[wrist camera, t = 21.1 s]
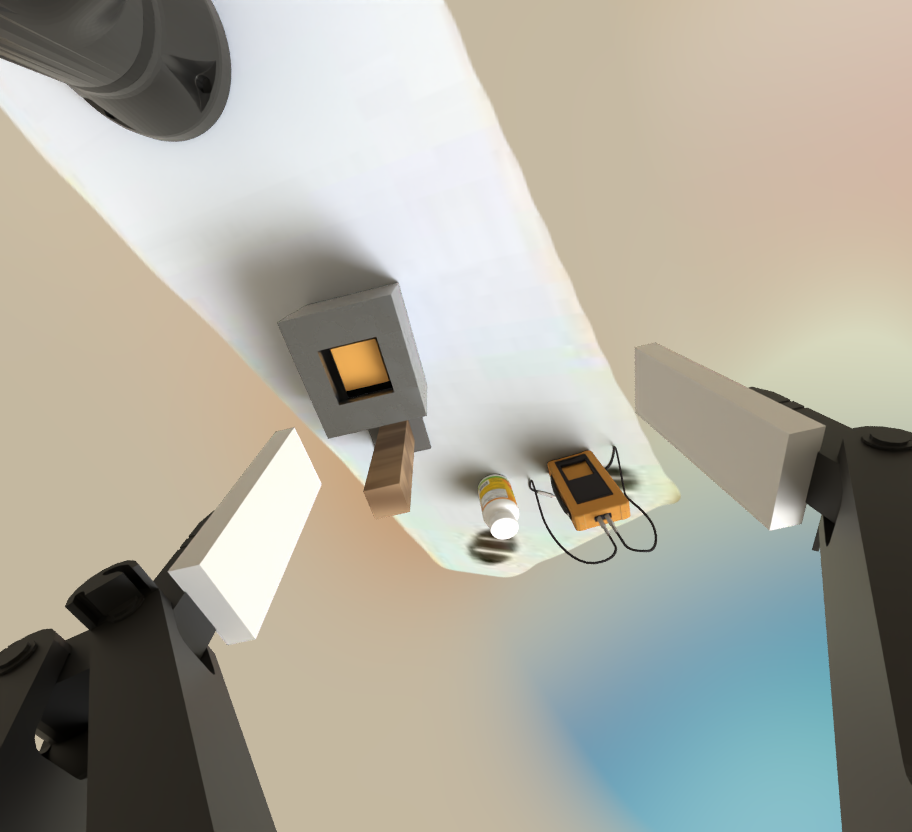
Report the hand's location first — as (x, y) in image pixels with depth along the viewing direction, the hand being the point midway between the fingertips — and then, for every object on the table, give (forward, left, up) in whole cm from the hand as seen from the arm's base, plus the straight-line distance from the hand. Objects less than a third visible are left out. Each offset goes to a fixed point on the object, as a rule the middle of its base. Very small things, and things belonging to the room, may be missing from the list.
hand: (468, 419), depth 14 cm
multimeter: (+34, +14, -37) cm, 52 cm away
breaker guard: (+5, -11, -37) cm, 39 cm away
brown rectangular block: (+18, -11, -36) cm, 42 cm away
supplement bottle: (+32, +1, -37) cm, 49 cm away
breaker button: (+5, -11, -35) cm, 37 cm away
